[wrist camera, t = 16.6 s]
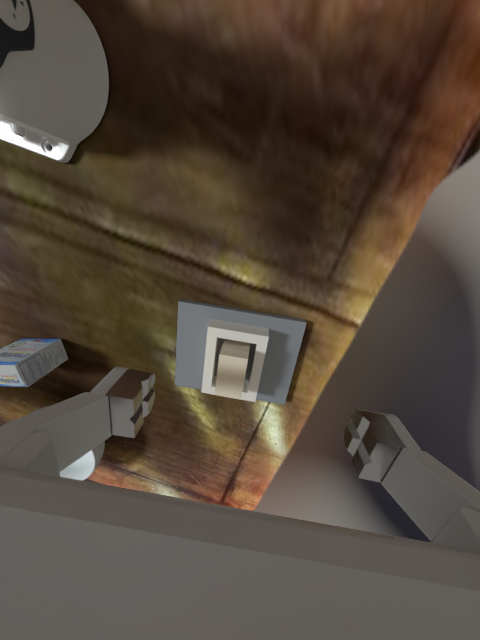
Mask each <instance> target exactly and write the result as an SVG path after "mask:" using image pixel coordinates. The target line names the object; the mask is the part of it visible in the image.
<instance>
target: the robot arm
mask: <svg viewBox="0 0 480 640" xmlns="http://www.w3.org/2000/svg"><path fill="white" fill-rule="evenodd" d="M108 92H109V75H108V66H107V61H106V57H105V53H104V49H103V46H102V43H101V41H100V38H99V36H98V34H97V32H96V30H95V28H94V26H93V24H92V22H91V21H90V19H89V18H88V16H87V15H86V13H85V12H84V11H83V10H82V8H81V7H80V6H79V5H78V4H77V3H76V2H75V1H74V0H0V140H2V141H5V142H8V143H10V144H13V145H16V146H18V147H21V148H24V149H26V150H29V151H32V152H34V153H37V154H40V155H42V156H45V157H48V158H50V159H53V160H56V161H58V162H61V163H67V162H68V161H69V160H70V159H71V158H72V156H73V154H74V152H75V150H76V147H77V145H78V144H79V143H80V142H81V141H82V140H83V139H85V138H86V137H87V136H89V135H90V134H91V133H92V132H93V131H94V130H95V129H96V127H97V126H98V124H99V123H100V121H101V119H102V117H103V115H104V112H105V109H106V105H107V100H108ZM51 146H52V150H51V149H50V147H51ZM154 383H155V375H154V374H153V373H148V372H143V371H138V370H133V369H127V368H122V367H115V368H113V369H112V370H111V371H110V372H109V373H108V374H107V375H106V376H105V377H104V378H103V379H102V380H101V381H100V382H99V383H98V384H97V385H96V387H95V388H94V389H93V390H92V391H91V392H90V393H89V392H84V393H82V394H79V395H77V396H74V397H72V398H69V399H66V400H64V401H61V402H59V403H56V404H54V405H51V406H49V407H46V408H44V409H41V410H39V411H36V412H34V413H31V414H29V415H26V416H24V417H21V418H19V419H16V420H14V421H11V422H9V423H6V424H4V425H2V426H1V427H0V640H480V492H479V491H478V490H476V489H475V488H474V487H472V486H471V485H470V484H468V483H467V482H466V481H464V480H463V479H462V478H460V477H459V476H458V475H456V474H455V473H453V472H452V471H451V470H450V469H448V468H447V467H445V466H444V465H443V464H441V463H440V462H439V461H437V460H436V459H435V458H433V457H432V456H431V455H429V454H428V453H427V452H423V451H421V449H420V448H419V447H418V445H417V444H416V442H415V441H414V440H413V438H412V437H411V435H410V434H409V433H408V431H407V430H406V428H405V427H404V426H403V424H402V423H401V421H400V420H399V419H398V417H396V416H395V415H390V414H383V413H375V412H369V411H364V410H358V409H356V410H354V411H353V413H352V415H351V418H352V422H351V423H349V424H347V426H346V428H345V431H344V441H345V445H346V448H347V450H348V451H349V452H350V453H351V454H352V455H353V458H352V460H351V461H352V463H353V466H354V468H355V471H356V474H357V476H358V478H362V479H367V480H372V481H377V482H381V484H382V485H383V487H385V489H386V490H387V491H388V492H389V493H390V494H391V496H392V497H393V498H394V499H395V500H396V502H397V503H398V504H399V505H400V506H401V507H402V509H403V510H404V511H405V512H406V513H407V514H408V515H409V517H410V518H411V519H412V520H413V521H414V522H415V523H416V525H417V526H418V527H419V528H420V529H421V531H422V532H423V533H424V534H425V535H426V536H427V537H428V539H429V540H430V541H431V542H430V543H429V542H423V541H417V540H412V539H406V538H401V537H395V536H390V535H384V534H378V533H373V532H367V531H361V530H355V529H350V528H344V527H339V526H332V525H327V524H322V523H316V522H310V521H305V520H298V519H293V518H288V517H282V516H277V515H271V514H265V513H260V512H254V511H249V510H243V509H238V508H232V507H227V506H221V505H215V504H210V503H204V502H199V501H193V500H188V499H182V498H176V497H171V496H165V495H159V494H154V493H148V492H143V491H137V490H131V489H126V488H120V487H115V486H109V485H103V484H98V483H92V482H86V481H81V480H75V479H70V478H64V477H60V472H61V471H62V470H64V469H65V468H66V467H68V466H69V465H71V464H72V463H74V462H75V461H76V460H78V459H79V458H81V457H82V456H84V455H85V454H86V453H88V452H89V451H91V450H92V449H94V448H95V447H96V446H98V445H99V444H101V443H102V442H104V441H105V440H106V439H108V438H109V437H111V435H117V436H124V437H130V438H135V436H136V435H137V433H138V431H139V430H140V428H141V426H142V424H143V417H145V416H147V415H148V414H149V412H150V410H151V408H152V405H153V402H154V397H155V390H154V389H153V388H152V386H153V385H154Z"/></svg>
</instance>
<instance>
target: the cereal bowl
mask: <svg viewBox="0 0 480 640" xmlns="http://www.w3.org/2000/svg"><path fill="white" fill-rule="evenodd" d="M47 407H49V406H47ZM44 408H46V407H43V408H40V409H37V410H35V411H33V412H31V413H34V412H36V411H39V410H41V409H44ZM31 413H30V414H31ZM28 415H29V414H28ZM104 448H105V441H104V442H102V443H101V444H99V445H98V446H96V447H95V448H94V449H92V450H91V451H89V452H88V453H86V454H85V455H84V456H82V457H81V458H79V459H78V460H76V461H75V462H74V463H72V464H71V465H69V466H68V467H66V468H65V469H64V470H62V471H61V472H60V477H64V478H70V479H75V480H81V481H82V480H85V479H86V478H88V477H89V476H90V475H91V474H92V473H93V472H94V470H95V469H96V467H97V466H98V464H99V462H100V461H101V458H102V456H103V453H104Z"/></svg>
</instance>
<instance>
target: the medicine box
mask: <svg viewBox="0 0 480 640" xmlns="http://www.w3.org/2000/svg"><path fill="white" fill-rule="evenodd" d="M66 360H68V357H67V354H66V351H65V349H64V346H63V343H62V341H61V339H21V340H18V341H16V342H14V343H12V344H10V345H8V346H6V347H4V348H2V349H0V386H15V387H29V386H30V385H32V384H33V383H35V382H36V381H37V380H39V379H40V378H42V377H43V376H45V375H46V374H47V373H49V372H50V371H52V370H53V369H55V368H56V367H58V366H59V365H60V364H62V363H63V362H65V361H66Z"/></svg>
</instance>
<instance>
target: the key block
mask: <svg viewBox="0 0 480 640" xmlns="http://www.w3.org/2000/svg"><path fill="white" fill-rule="evenodd" d="M249 348H250V343H247V342H241V341H235V340H229V339H225V340H224V343H223V345H222V348H221V351H220V354H219V361H218V369H217V378H216V386H215V394H214V395H219V396H224V397H230V398H235V399H241V396H242V390H243V385H244V379H245V374H246V368H247V363H248V356H249Z"/></svg>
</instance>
